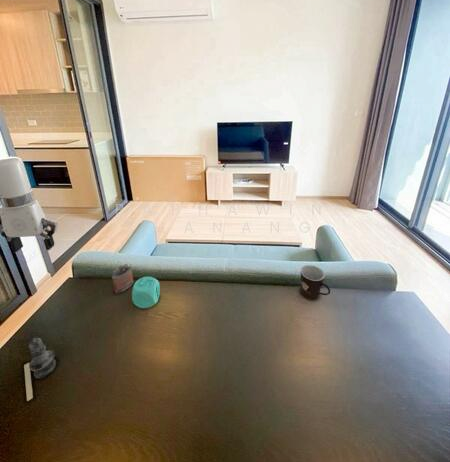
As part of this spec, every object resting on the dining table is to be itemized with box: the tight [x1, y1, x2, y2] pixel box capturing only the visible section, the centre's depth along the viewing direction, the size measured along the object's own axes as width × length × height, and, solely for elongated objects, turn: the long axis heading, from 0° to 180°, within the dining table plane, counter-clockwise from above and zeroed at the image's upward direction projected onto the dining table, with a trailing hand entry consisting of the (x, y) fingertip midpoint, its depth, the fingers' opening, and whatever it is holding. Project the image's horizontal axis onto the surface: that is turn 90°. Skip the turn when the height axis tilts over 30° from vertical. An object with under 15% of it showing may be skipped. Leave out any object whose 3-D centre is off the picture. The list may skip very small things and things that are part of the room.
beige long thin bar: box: [23, 362, 34, 402], centre depth 67 cm, size 12×1×1 cm, turn 41°
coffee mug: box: [300, 264, 331, 300], centre depth 92 cm, size 12×9×10 cm
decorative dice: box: [131, 276, 161, 309], centre depth 92 cm, size 8×8×8 cm
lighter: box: [111, 263, 135, 295], centre depth 98 cm, size 8×3×10 cm, turn 144°
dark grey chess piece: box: [28, 337, 57, 379], centre depth 68 cm, size 6×6×12 cm
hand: (34, 248), depth 78 cm, fingers open, 9 cm apart
